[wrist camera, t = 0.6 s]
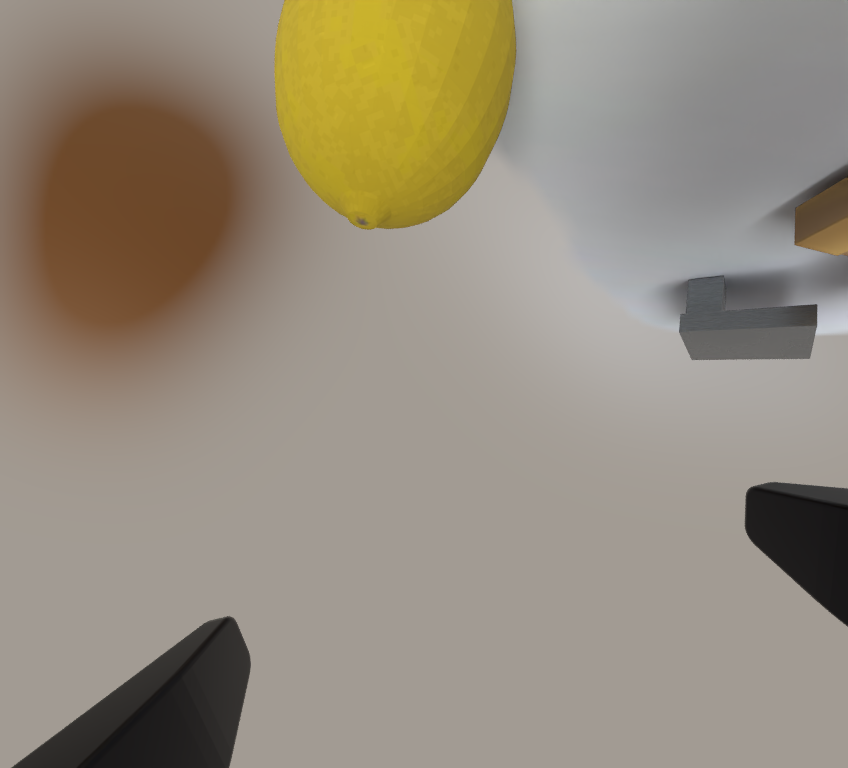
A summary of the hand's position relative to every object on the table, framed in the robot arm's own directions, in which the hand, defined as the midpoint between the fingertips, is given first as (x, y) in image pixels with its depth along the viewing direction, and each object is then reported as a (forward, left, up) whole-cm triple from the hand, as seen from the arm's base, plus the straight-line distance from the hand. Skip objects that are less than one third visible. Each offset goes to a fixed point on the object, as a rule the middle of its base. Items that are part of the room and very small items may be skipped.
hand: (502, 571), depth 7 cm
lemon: (+2, -3, -15) cm, 15 cm away
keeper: (+7, +17, -14) cm, 24 cm away
